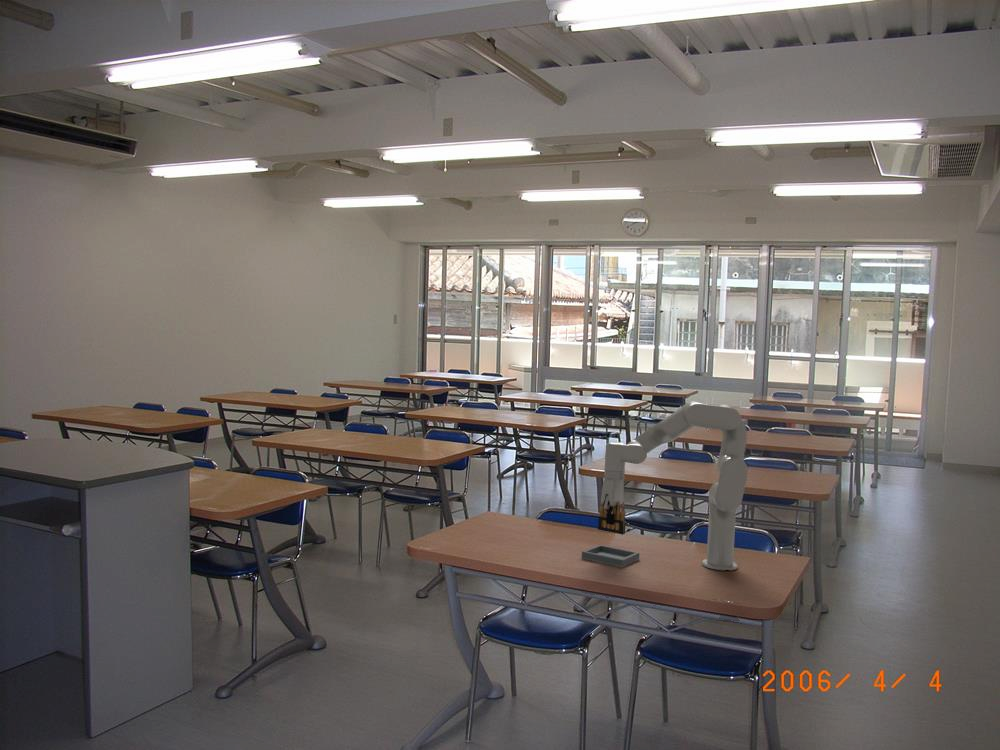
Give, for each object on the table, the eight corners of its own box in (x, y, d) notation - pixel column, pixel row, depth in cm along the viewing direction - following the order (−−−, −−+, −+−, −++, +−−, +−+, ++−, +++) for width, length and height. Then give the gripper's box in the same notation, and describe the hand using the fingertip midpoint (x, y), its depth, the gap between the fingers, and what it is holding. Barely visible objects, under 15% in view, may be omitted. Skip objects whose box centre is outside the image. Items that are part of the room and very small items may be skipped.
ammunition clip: (597, 529, 298) (599, 498, 297) (599, 528, 299) (601, 497, 299) (622, 534, 292) (624, 502, 291) (625, 533, 293) (626, 501, 293)
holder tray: (599, 551, 307) (599, 544, 307) (639, 559, 297) (639, 552, 297) (581, 558, 295) (581, 551, 295) (622, 567, 285) (622, 560, 285)
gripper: (615, 471, 303) (612, 518, 304) (595, 476, 290) (592, 525, 291) (632, 474, 299) (630, 521, 300) (613, 478, 286) (610, 528, 287)
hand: (611, 523), depth 295 cm, fingers closed on ammunition clip, 2 cm apart
